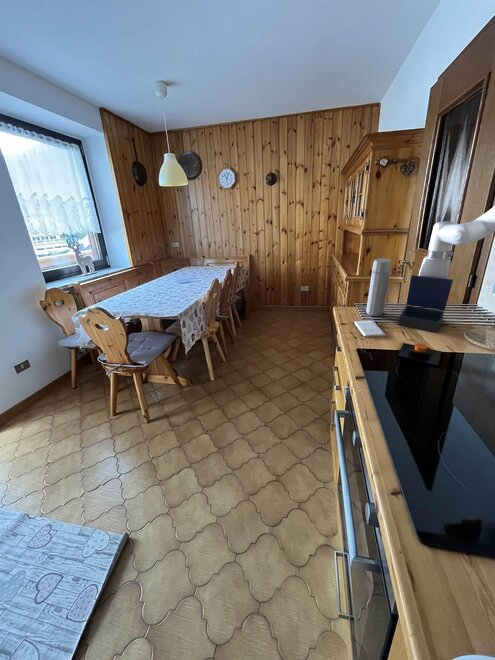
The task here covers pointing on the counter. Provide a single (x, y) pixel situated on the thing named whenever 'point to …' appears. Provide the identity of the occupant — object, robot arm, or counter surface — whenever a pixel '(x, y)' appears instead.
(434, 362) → the switch block
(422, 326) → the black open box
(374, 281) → the water bottle
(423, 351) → the button
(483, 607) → the counter surface
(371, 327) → the hard drive
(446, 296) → the cover
